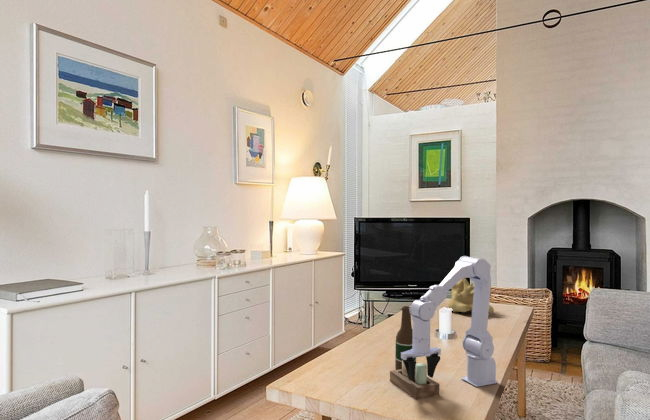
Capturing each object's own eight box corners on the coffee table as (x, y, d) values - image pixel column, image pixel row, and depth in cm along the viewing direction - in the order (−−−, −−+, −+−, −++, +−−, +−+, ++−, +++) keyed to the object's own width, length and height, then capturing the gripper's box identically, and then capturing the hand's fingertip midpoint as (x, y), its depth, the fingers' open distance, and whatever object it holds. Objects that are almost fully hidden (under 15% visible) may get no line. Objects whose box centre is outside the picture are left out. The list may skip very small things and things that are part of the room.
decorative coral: (432, 288, 273) (466, 263, 269) (452, 313, 277) (486, 289, 274) (444, 307, 248) (481, 280, 245) (466, 334, 252) (503, 309, 249)
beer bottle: (413, 367, 171) (414, 304, 171) (418, 374, 163) (419, 309, 163) (393, 367, 171) (394, 304, 171) (397, 374, 163) (398, 309, 163)
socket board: (411, 377, 161) (411, 367, 161) (439, 394, 146) (439, 384, 146) (389, 380, 157) (389, 370, 157) (416, 399, 143) (416, 388, 143)
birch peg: (408, 380, 158) (408, 355, 158) (414, 384, 155) (414, 358, 155) (399, 382, 157) (400, 356, 156) (405, 385, 153) (405, 359, 153)
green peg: (421, 389, 150) (422, 362, 150) (428, 393, 147) (429, 366, 147) (413, 391, 149) (413, 364, 149) (419, 395, 146) (420, 367, 146)
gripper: (409, 343, 141) (409, 386, 142) (446, 338, 147) (446, 379, 147) (397, 337, 148) (397, 378, 148) (433, 332, 154) (433, 372, 154)
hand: (420, 378), depth 148 cm, fingers open, 7 cm apart
